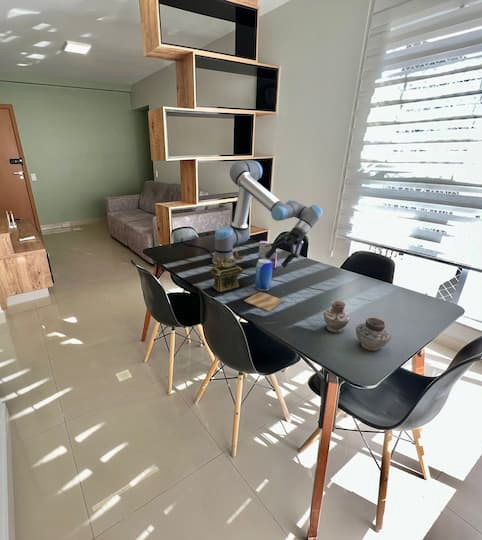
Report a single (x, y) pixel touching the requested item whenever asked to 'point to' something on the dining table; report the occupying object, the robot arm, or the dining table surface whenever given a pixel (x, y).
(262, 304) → the corner mat
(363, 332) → the pottery
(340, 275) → the dining table surface
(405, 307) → the dining table surface
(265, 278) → the beer can
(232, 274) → the decorative box
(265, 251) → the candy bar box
